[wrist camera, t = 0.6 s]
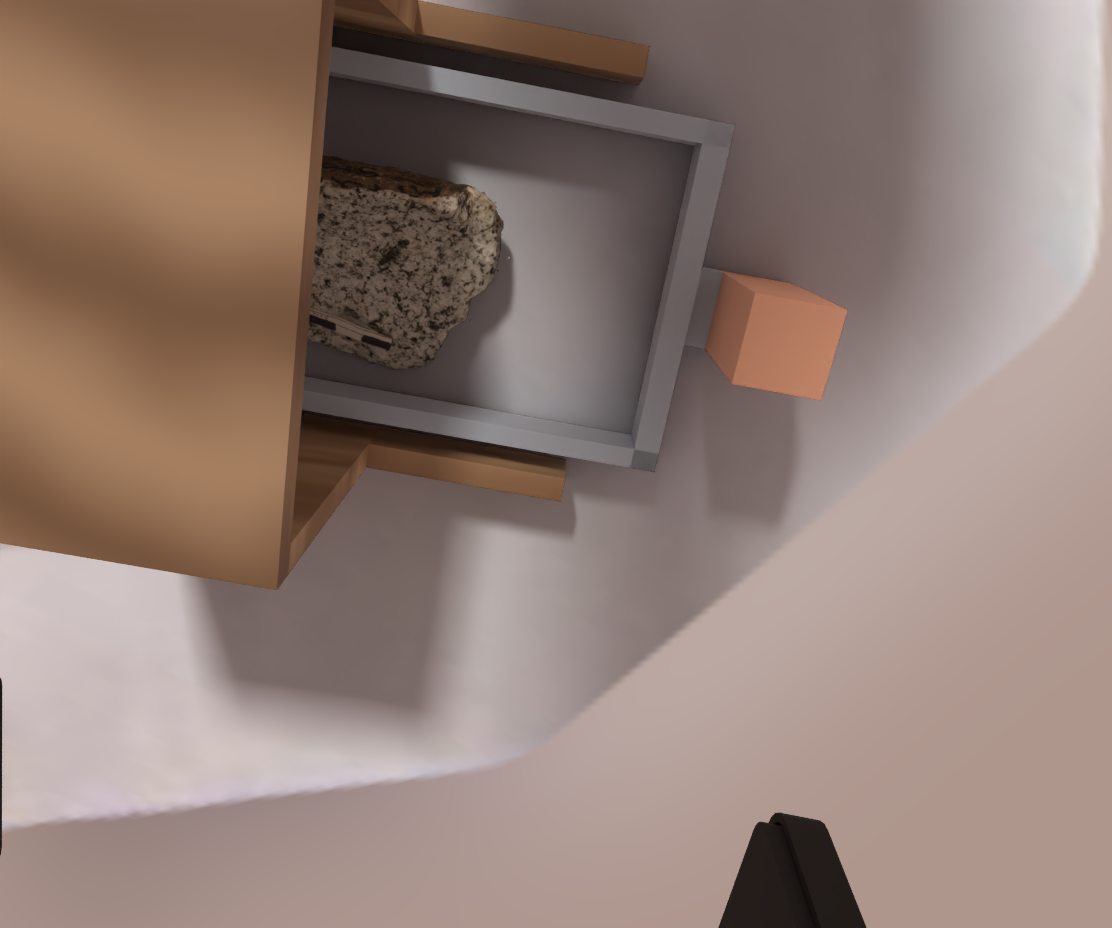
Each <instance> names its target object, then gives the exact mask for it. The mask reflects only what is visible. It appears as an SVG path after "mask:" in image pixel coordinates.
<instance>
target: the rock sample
mask: <svg viewBox="0 0 1112 928" xmlns="http://www.w3.org/2000/svg"><path fill="white" fill-rule="evenodd" d="M495 203H496V202H495ZM502 230H503V220H502V219H501V218H500V216H499V215H498V212H497V211H496V206H495V204H494V203H493V202H492V201H491V200H490V199H489V198H488V197H487V196H486V195H485V193H484V192H482V193H480V192H479V191H478V190H477V189H476V188H474V187H472V186H469V185H464V184H454V183H452V182H450V181H447V180H444V179H437V178H431V177H427V176H421V175H416V174H414V173H412V172H409V171H405V170H400V169H396V168H393V167H380V166H374V165H369V164H365V163H362V162H351V161H348V160H342V159H340V158H337V157H334V156H332V157H329V156H322V168H321V180H320V193H319V205H318V217H317V229H316V242H315V254H314V266H313V278H312V291H311V303H310V315H309V327H308V338H309V339H310V341H312V342H317V343H322V344H324V345H327V346H330V347H332V348H335V349H337V350H340V351H344V352H347V353H350V354H355V355H359V356H361V357H363V358H365V359H366V360H367V361H368V362H369V363H377V364H381V365H384V366H387V367H389V368H391V369H403V368H414V367H419V368H420V367H423V366H426V365H427V364H428V363H429V362H430V361H431V360H434V357H435V355H436V352H437V351H438V349H439V348H440V347H441V346H442V344H443V341H444V339H445V338H446V336H447V334H448V332H449V330H450V329H451V328H452V327H454V326H456V325H458V324H460V323H462V322H464V321H465V320H466V318H467V315H468V310H469V305H470V300H471V298H472V297H474V296H476V295H477V294H479V293H481V292H483V291H484V290H485V289H486V287H487V286H488V285H489V284H490V283H491V282H492V281H493V279H494V274H495V270H496V268H497V261H498V259H499V257H500V251H501V232H502ZM509 258H510V257H508V258H507V259H509ZM497 271H498V270H497ZM470 320H471V319H470ZM366 366H367V365H366Z"/></svg>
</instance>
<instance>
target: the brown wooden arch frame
mask: <svg viewBox="0 0 1112 928" xmlns="http://www.w3.org/2000/svg"><path fill="white" fill-rule="evenodd" d="M333 26H337V27H343V28H348V29H353V30H358V31H363V32H368V33H373V34H378V35H384V36H389V37H394V38H399V39H404V40H409V41H414V42H419V43H425V44H430V45H435V46H440V47H445V48H450V49H455V50H460V51H466V52H471V53H476V54H481V55H486V56H491V57H496V58H501V59H507V60H512V61H517V62H522V63H527V64H532V65H537V66H542V67H548V68H553V69H558V70H563V71H568V72H573V73H578V74H583V75H589V76H594V77H599V78H604V79H609V80H614V81H619V82H624V83H630V84H635V85H639V84H640V82H641V81H642V79H643V77H644V72H645V67H646V62H647V57H648V52H649V47H650V46H647V45H641V44H636V43H631V42H626V41H621V40H616V39H611V38H606V37H601V36H596V35H591V34H586V33H581V32H575V31H570V30H565V29H560V28H555V27H550V26H545V25H540V24H535V23H530V22H525V21H520V20H515V19H510V18H504V17H499V16H494V15H489V14H484V13H479V12H474V11H469V10H464V9H459V8H454V7H449V6H444V5H438V4H433V3H428V2H423V1H418V0H0V543H3V544H9V545H15V546H21V547H26V548H32V549H38V550H44V551H50V552H56V553H62V554H68V555H74V556H80V557H85V558H91V559H97V560H103V561H109V562H115V563H121V564H127V565H133V566H139V567H145V568H150V569H156V570H162V571H168V572H174V573H180V574H186V575H192V576H198V577H204V578H209V579H215V580H221V581H227V582H233V583H239V584H245V585H251V586H257V587H263V588H268V589H274V590H277V589H278V588H279V586H280V585H281V583H282V582H283V581H284V579H285V578H286V577H287V575H288V574H289V572H290V571H291V570H292V568H293V567H294V566H295V564H296V563H297V561H298V560H299V559H300V557H301V556H302V555H303V553H304V552H305V550H306V549H307V548H308V546H309V545H310V544H311V542H312V541H313V539H314V538H315V537H316V535H317V534H318V533H319V531H320V530H321V529H322V527H323V526H324V524H325V523H326V522H327V520H328V519H329V518H330V516H331V515H332V513H333V512H334V511H335V509H336V508H337V507H338V505H339V504H340V502H341V501H342V500H343V498H344V497H345V496H346V494H347V493H348V491H349V490H350V489H351V487H352V486H353V485H354V483H355V482H356V480H357V479H358V478H359V476H360V475H361V474H362V472H363V471H364V469H365V468H366V467H368V468H374V469H380V470H385V471H391V472H397V473H402V474H408V475H414V476H419V477H425V478H431V479H436V480H442V481H448V482H454V483H459V484H465V485H471V486H476V487H482V488H488V489H493V490H499V491H505V492H510V493H516V494H522V495H528V496H533V497H539V498H545V499H550V500H556V501H561V497H562V492H563V487H564V482H565V467H566V460H565V459H559V458H553V457H548V456H542V455H536V454H531V453H525V452H520V451H514V450H508V449H503V448H497V447H491V446H486V445H480V444H475V443H469V442H463V441H458V440H452V439H446V438H441V437H435V436H429V435H424V434H418V433H413V432H407V431H401V430H396V429H390V428H384V427H379V426H373V425H367V424H362V423H356V422H351V421H345V420H339V419H334V418H328V417H322V416H317V415H311V414H306V413H302V401H303V389H304V376H305V364H306V352H307V340H308V327H309V315H310V303H311V291H312V278H313V266H314V254H315V242H316V229H317V217H318V205H319V193H320V180H321V168H322V156H323V144H324V131H325V119H326V107H327V95H328V82H329V70H330V58H331V46H332V33H333Z"/></svg>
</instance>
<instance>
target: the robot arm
mask: <svg viewBox="0 0 1112 928" xmlns="http://www.w3.org/2000/svg"><path fill="white" fill-rule="evenodd" d="M1 848H2V681H1V678H0V855H1ZM719 928H866V925H865V923H864V921H863V918H862V915H861V913H860V910H859V908H858V905H857V903H856V900H855V898H854V895H853V893H852V890H851V888H850V885H849V883H848V880H847V878H846V875H845V872H844V870H843V868H842V865H841V862H840V860H839V857H838V855H837V852H836V850H835V847H834V845H833V842H832V840H831V837H830V834H829V832H828V830H827V828H826V826H825V824H824V823H823V822H821V821H819V820H814V819H809V818H804V817H799V816H794V815H788V814H783V813H775V814H774V815H773V816H772V817H771V819H770V821H769V823H765V822H759V823H757V825H756V826H755V828H754V830H753V833H752V836H751V839H750V841H749V844H748V847H747V850H746V853H745V855H744V858H743V861H742V864H741V867H740V869H739V872H738V875H737V878H736V880H735V883H734V886H733V889H732V892H731V894H730V897H729V900H728V903H727V906H726V908H725V911H724V914H723V917H722V920H721V922H720V925H719Z"/></svg>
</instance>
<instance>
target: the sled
mask: <svg viewBox="0 0 1112 928" xmlns="http://www.w3.org/2000/svg"><path fill="white" fill-rule="evenodd" d="M329 75H331V76H336V77H342V78H347V79H352V80H357V81H362V82H367V83H373V84H378V85H383V86H388V87H393V88H399V89H404V90H409V91H414V92H419V93H424V94H430V95H435V96H440V97H445V98H450V99H456V100H461V101H466V102H471V103H476V104H481V105H487V106H492V107H497V108H502V109H507V110H513V111H518V112H523V113H528V114H533V115H539V116H544V117H549V118H554V119H559V120H564V121H570V122H575V123H580V124H585V125H590V126H596V127H601V128H606V129H611V130H616V131H621V132H627V133H632V134H637V135H642V136H647V137H653V138H658V139H663V140H668V141H673V142H678V143H684V144H689V145H694V150H693V155H692V159H691V164H690V169H689V173H688V178H687V182H686V187H685V191H684V196H683V200H682V205H681V210H680V214H679V219H678V223H677V228H676V232H675V237H674V242H673V246H672V251H671V255H670V260H669V264H668V269H667V273H666V278H665V283H664V287H663V292H662V296H661V301H660V305H659V310H658V314H657V319H656V324H655V328H654V333H653V337H652V342H651V346H650V351H649V356H648V360H647V365H646V369H645V374H644V378H643V383H642V387H641V392H640V397H639V401H638V406H637V410H636V415H635V419H634V424H633V429H632V433H631V435H629V434H624V433H618V432H612V431H607V430H601V429H596V428H590V427H585V426H579V425H573V424H568V423H562V422H557V421H551V420H546V419H540V418H534V417H529V416H523V415H518V414H512V413H506V412H501V411H495V410H490V409H484V408H479V407H473V406H467V405H462V404H456V403H451V402H445V401H439V400H434V399H428V398H423V397H417V396H412V395H406V394H400V393H395V392H389V391H384V390H378V389H373V388H367V387H361V386H356V385H350V384H345V383H339V382H333V381H328V380H322V379H317V378H311V377H306V376H304V389H303V401H302V410H307V411H312V412H318V413H324V414H329V415H335V416H340V417H346V418H352V419H357V420H363V421H369V422H374V423H380V424H385V425H391V426H397V427H402V428H408V429H414V430H419V431H425V432H431V433H436V434H442V435H447V436H453V437H459V438H464V439H470V440H476V441H481V442H487V443H492V444H498V445H504V446H509V447H515V448H521V449H526V450H532V451H537V452H543V453H549V454H554V455H560V456H566V457H571V458H577V459H582V460H588V461H594V462H599V463H605V464H611V465H616V466H622V467H628V468H633V469H639V470H644V471H650V472H655V468H656V464H657V459H658V455H659V451H660V447H661V442H662V438H663V434H664V429H665V425H666V421H667V416H668V412H669V408H670V403H671V399H672V395H673V391H674V386H675V382H676V378H677V373H678V369H679V365H680V360H681V356H682V352H683V348H684V345H687V346H693V347H698V348H703V349H705V350H706V351H707V352H708V354H709V355H710V356H711V358H712V359H713V360H714V361H715V363H716V364H717V365H718V367H719V368H720V369H721V371H722V372H723V373H724V374H725V376H726V377H727V378H728V380H729V381H730V382H731V384H734V385H739V386H745V387H750V388H756V389H761V390H767V391H772V392H778V393H783V394H789V395H794V396H800V397H805V398H811V399H816V400H821V399H822V396H823V393H824V389H825V386H826V382H827V379H828V376H829V372H830V369H831V365H832V362H833V359H834V355H835V352H836V348H837V345H838V342H839V338H840V335H841V331H842V328H843V325H844V321H845V318H846V314H847V311H848V310H847V309H845V308H843V307H841V306H838V305H836V304H834V303H832V302H830V301H828V300H826V299H824V298H822V297H820V296H817V295H815V294H813V293H811V292H809V291H807V290H805V289H803V288H801V287H799V286H797V285H794V284H792V283H786V282H781V281H776V280H770V279H765V278H760V277H754V276H749V275H744V274H738V273H733V272H728V271H722V270H717V269H712V268H706V267H702V266H703V262H704V257H705V253H706V249H707V244H708V240H709V236H710V231H711V227H712V223H713V219H714V214H715V210H716V206H717V201H718V197H719V193H720V188H721V184H722V180H723V176H724V171H725V167H726V163H727V158H728V154H729V150H730V145H731V141H732V137H733V133H734V128H735V125H734V124H729V123H724V122H719V121H713V120H708V119H703V118H698V117H693V116H688V115H682V114H677V113H672V112H667V111H662V110H657V109H652V108H646V107H641V106H636V105H631V104H626V103H621V102H616V101H610V100H605V99H600V98H595V97H590V96H585V95H580V94H574V93H569V92H564V91H559V90H554V89H549V88H543V87H538V86H533V85H528V84H523V83H518V82H513V81H507V80H502V79H497V78H492V77H487V76H482V75H477V74H471V73H466V72H461V71H456V70H451V69H446V68H441V67H435V66H430V65H425V64H420V63H415V62H410V61H404V60H399V59H394V58H389V57H384V56H379V55H374V54H368V53H363V52H358V51H353V50H348V49H343V48H338V47H332V46H331V58H330V70H329Z"/></svg>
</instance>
